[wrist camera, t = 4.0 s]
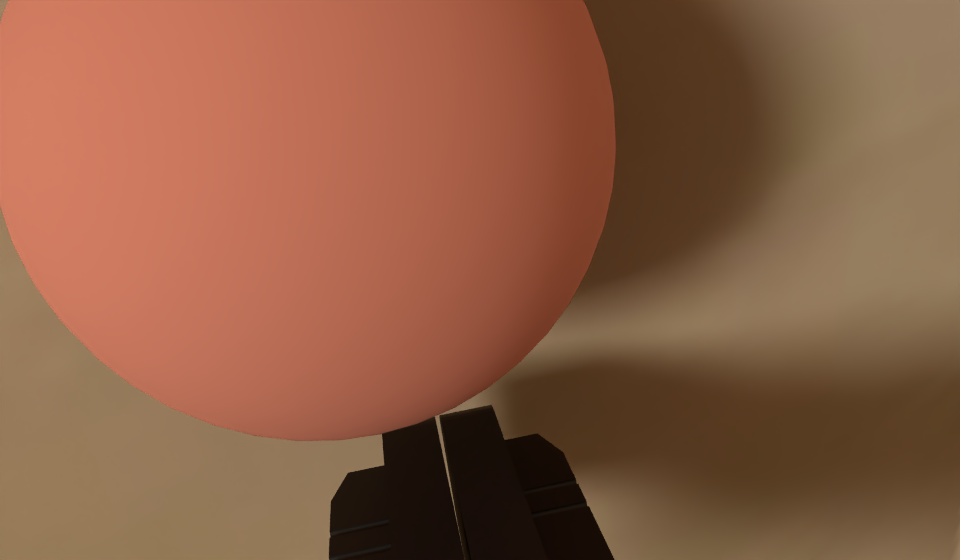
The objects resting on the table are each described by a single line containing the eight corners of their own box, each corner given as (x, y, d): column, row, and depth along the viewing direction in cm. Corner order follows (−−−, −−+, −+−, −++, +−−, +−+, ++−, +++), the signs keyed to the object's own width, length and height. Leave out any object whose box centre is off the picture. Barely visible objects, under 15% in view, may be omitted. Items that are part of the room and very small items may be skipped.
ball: (374, 409, 3) (187, -622, 4) (-102, 537, 6) (-131, -56, 7) (771, 350, 7) (631, -123, 8) (380, 441, 10) (315, 88, 11)
